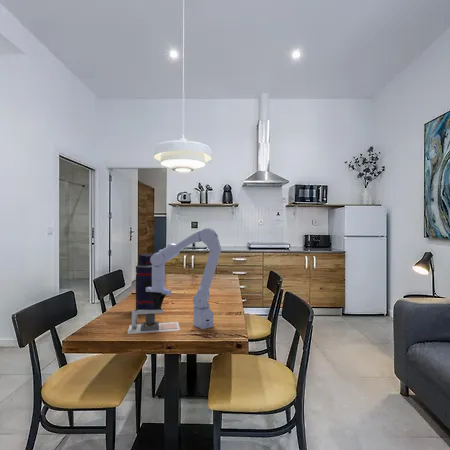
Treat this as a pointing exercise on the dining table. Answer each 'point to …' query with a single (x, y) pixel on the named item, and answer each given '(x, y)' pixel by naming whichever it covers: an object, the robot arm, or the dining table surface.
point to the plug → (149, 319)
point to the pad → (169, 326)
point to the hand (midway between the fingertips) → (158, 309)
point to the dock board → (150, 328)
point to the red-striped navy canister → (144, 283)
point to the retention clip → (136, 312)
